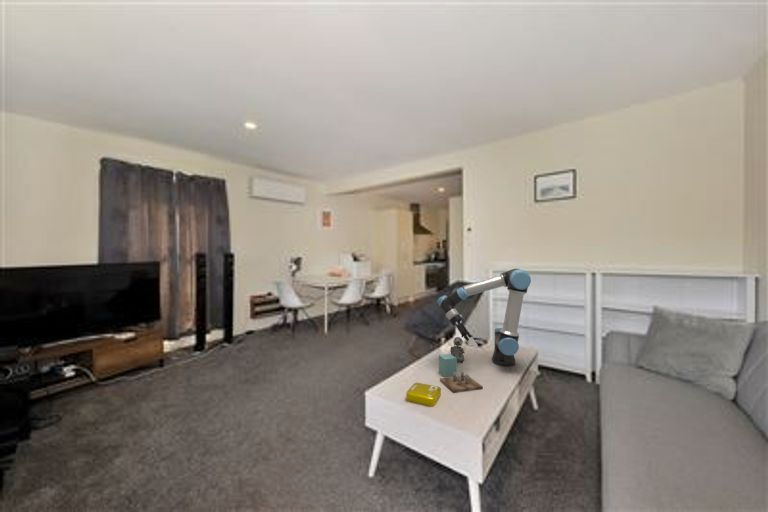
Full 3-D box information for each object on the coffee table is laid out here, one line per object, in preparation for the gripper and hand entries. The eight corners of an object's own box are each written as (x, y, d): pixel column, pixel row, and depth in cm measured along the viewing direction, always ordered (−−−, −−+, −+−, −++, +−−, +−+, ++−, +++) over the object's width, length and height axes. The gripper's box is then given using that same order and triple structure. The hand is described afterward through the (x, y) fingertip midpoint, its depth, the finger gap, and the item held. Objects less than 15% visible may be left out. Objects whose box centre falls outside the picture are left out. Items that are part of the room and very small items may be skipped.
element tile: (415, 389, 175) (415, 380, 175) (441, 395, 169) (441, 386, 169) (405, 401, 162) (405, 392, 162) (433, 408, 155) (433, 398, 155)
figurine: (466, 358, 223) (466, 337, 222) (461, 363, 213) (461, 341, 212) (454, 356, 227) (454, 335, 227) (448, 361, 217) (448, 339, 217)
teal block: (450, 370, 201) (450, 353, 200) (456, 375, 193) (456, 358, 193) (438, 372, 199) (438, 354, 198) (444, 377, 191) (444, 359, 191)
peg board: (467, 377, 191) (467, 366, 190) (482, 388, 175) (482, 377, 175) (440, 380, 186) (440, 369, 186) (453, 393, 170) (453, 381, 170)
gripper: (454, 323, 216) (473, 350, 205) (444, 317, 195) (464, 348, 184) (463, 316, 215) (482, 344, 204) (454, 310, 193) (475, 340, 183)
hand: (474, 346), depth 194 cm, fingers open, 13 cm apart
